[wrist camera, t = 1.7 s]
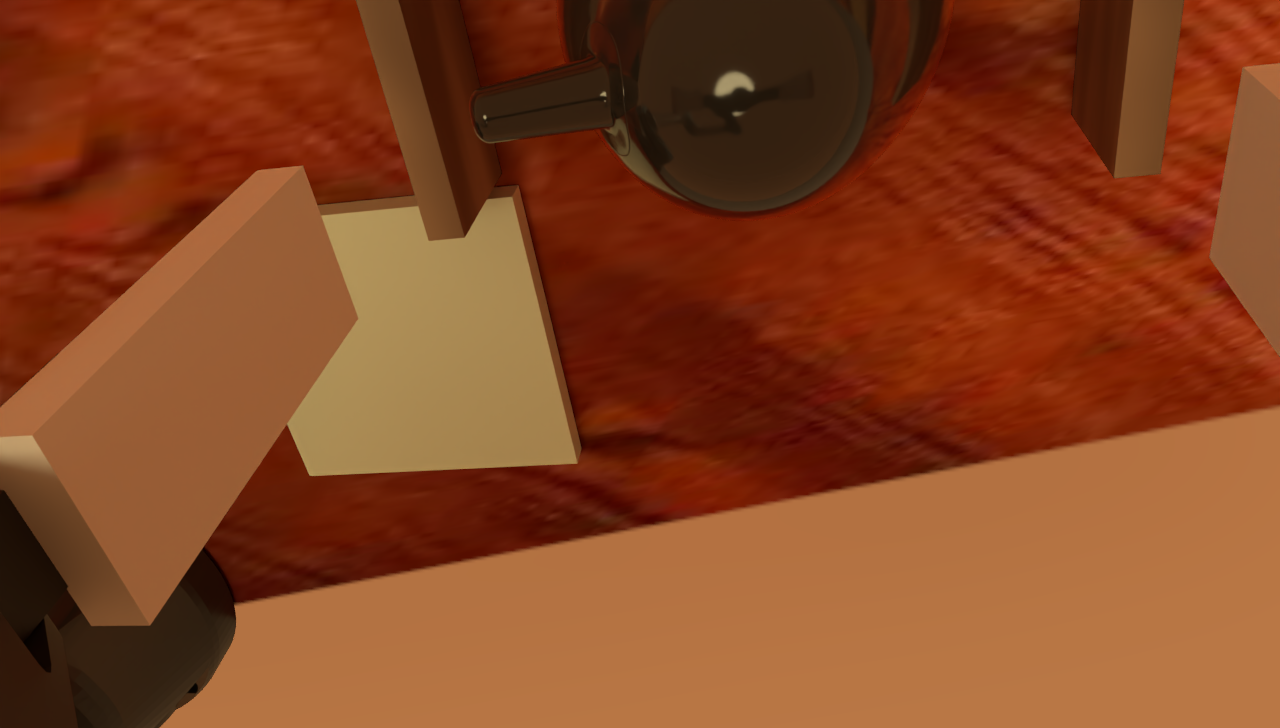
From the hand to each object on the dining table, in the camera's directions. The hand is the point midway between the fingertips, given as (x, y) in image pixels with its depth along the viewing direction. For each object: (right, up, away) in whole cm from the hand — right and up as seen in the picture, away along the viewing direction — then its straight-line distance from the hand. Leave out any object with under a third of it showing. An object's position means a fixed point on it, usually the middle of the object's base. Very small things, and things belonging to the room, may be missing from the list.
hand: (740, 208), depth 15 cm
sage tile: (-11, -1, +25) cm, 28 cm away
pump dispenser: (+2, +11, +16) cm, 19 cm away
